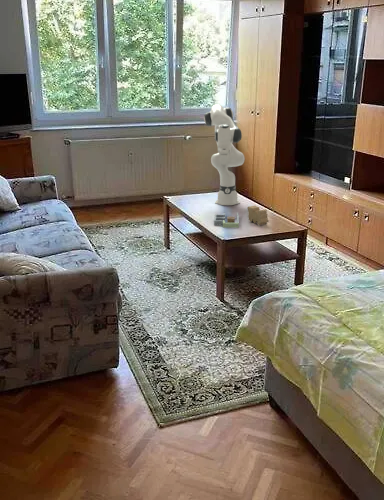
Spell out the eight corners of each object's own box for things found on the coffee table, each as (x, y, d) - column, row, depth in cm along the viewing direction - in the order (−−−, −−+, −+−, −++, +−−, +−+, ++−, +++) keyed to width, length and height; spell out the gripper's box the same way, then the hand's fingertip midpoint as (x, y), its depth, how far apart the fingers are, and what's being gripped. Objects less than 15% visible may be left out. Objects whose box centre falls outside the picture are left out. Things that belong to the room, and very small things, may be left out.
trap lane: (215, 216, 367) (215, 212, 366) (238, 216, 365) (238, 212, 364) (213, 227, 343) (213, 223, 342) (238, 227, 342) (238, 223, 341)
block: (227, 223, 351) (227, 216, 349) (234, 223, 351) (234, 216, 349) (227, 225, 346) (227, 218, 345) (234, 225, 346) (234, 218, 344)
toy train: (261, 226, 343) (262, 212, 340) (247, 220, 357) (247, 206, 354) (268, 225, 345) (269, 211, 342) (253, 219, 360) (254, 205, 356)
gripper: (220, 147, 360) (220, 166, 365) (219, 152, 341) (219, 172, 346) (229, 147, 360) (229, 166, 364) (228, 151, 340) (228, 172, 345)
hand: (224, 169), depth 355 cm, fingers closed
